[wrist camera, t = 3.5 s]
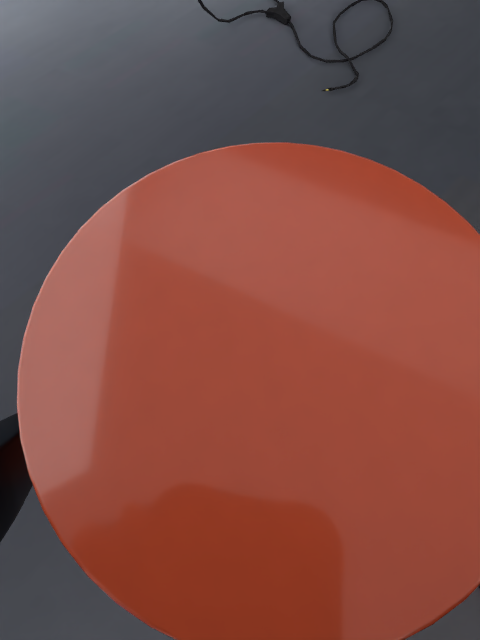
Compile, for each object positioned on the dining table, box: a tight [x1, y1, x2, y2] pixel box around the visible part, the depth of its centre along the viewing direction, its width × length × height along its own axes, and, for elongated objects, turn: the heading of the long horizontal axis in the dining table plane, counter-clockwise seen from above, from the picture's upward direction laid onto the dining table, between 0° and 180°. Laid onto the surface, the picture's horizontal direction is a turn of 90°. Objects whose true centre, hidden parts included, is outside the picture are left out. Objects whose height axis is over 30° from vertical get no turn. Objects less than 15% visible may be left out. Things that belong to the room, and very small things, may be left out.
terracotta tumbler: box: [17, 142, 480, 640], centre depth 11 cm, size 6×6×13 cm
